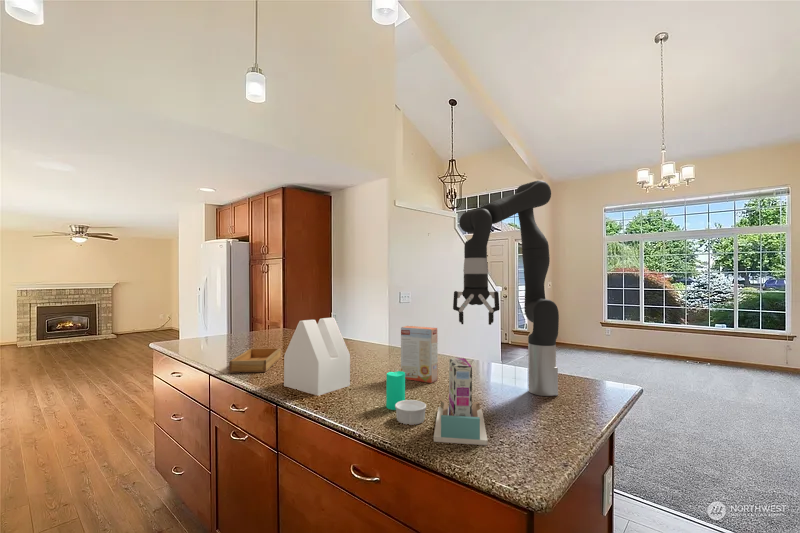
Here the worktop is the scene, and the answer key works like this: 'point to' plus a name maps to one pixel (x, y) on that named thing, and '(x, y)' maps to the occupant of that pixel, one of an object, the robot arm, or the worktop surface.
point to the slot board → (460, 426)
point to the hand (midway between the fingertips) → (475, 324)
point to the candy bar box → (460, 387)
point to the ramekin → (410, 411)
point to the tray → (255, 360)
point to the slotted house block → (317, 358)
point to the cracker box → (419, 353)
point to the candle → (395, 388)
